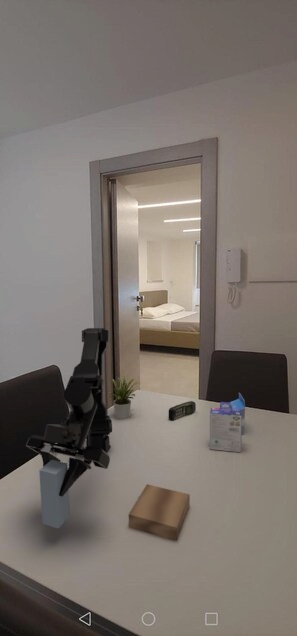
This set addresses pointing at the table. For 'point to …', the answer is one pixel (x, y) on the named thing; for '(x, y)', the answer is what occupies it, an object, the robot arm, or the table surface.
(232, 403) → the label tape box
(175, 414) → the mobile phone
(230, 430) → the ink cartridge box
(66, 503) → the slate block
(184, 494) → the walnut block
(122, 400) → the house plant
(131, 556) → the table surface
